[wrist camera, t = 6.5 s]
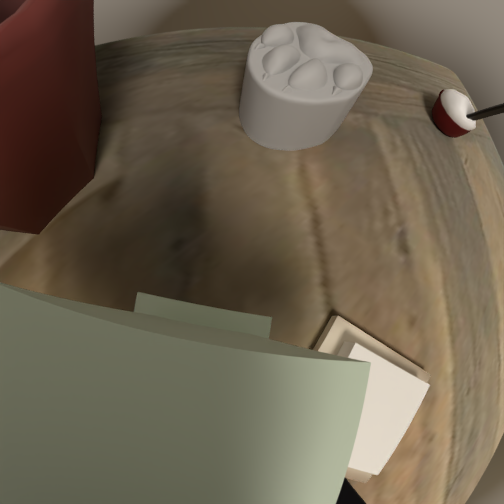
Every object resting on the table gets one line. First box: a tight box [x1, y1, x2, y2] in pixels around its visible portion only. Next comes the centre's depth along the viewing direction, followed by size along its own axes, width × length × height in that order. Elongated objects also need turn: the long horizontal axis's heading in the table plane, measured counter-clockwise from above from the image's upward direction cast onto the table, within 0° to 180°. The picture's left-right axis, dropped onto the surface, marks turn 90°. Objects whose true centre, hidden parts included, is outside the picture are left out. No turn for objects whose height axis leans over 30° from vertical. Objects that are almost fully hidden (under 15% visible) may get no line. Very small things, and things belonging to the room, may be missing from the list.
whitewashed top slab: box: [337, 341, 430, 475], centre depth 19 cm, size 9×9×2 cm
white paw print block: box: [239, 22, 373, 150], centre depth 24 cm, size 10×13×9 cm
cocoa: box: [432, 89, 504, 138], centre depth 25 cm, size 10×6×12 cm, turn 157°
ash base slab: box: [313, 315, 431, 483], centre depth 21 cm, size 12×12×2 cm
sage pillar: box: [0, 283, 371, 504], centre depth 8 cm, size 7×7×13 cm
